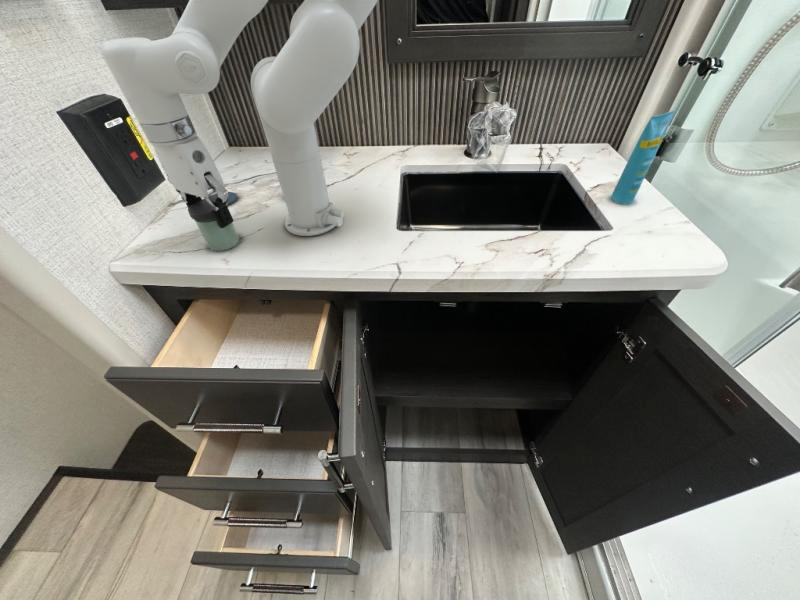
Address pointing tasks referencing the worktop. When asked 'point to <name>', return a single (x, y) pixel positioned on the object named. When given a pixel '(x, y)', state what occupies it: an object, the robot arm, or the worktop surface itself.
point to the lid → (201, 210)
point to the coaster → (229, 198)
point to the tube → (641, 159)
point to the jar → (218, 235)
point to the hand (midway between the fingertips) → (213, 220)
